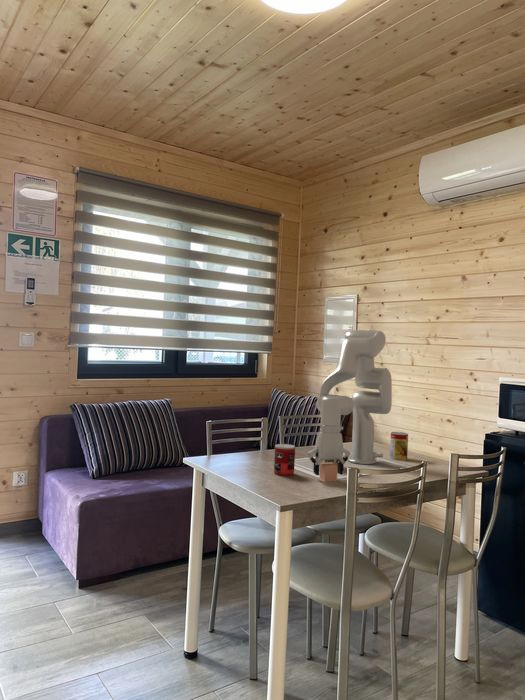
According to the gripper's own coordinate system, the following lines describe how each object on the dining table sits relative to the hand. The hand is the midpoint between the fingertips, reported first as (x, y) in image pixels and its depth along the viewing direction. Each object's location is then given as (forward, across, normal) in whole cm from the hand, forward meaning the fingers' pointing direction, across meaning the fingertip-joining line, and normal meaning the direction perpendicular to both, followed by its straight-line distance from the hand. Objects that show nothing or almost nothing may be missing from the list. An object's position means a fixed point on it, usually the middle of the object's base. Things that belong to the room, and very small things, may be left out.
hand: (328, 474), depth 199 cm
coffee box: (+2, -9, -20) cm, 22 cm away
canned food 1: (+2, +14, -11) cm, 18 cm away
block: (+2, 0, 0) cm, 2 cm away
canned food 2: (+2, -50, -32) cm, 59 cm away
